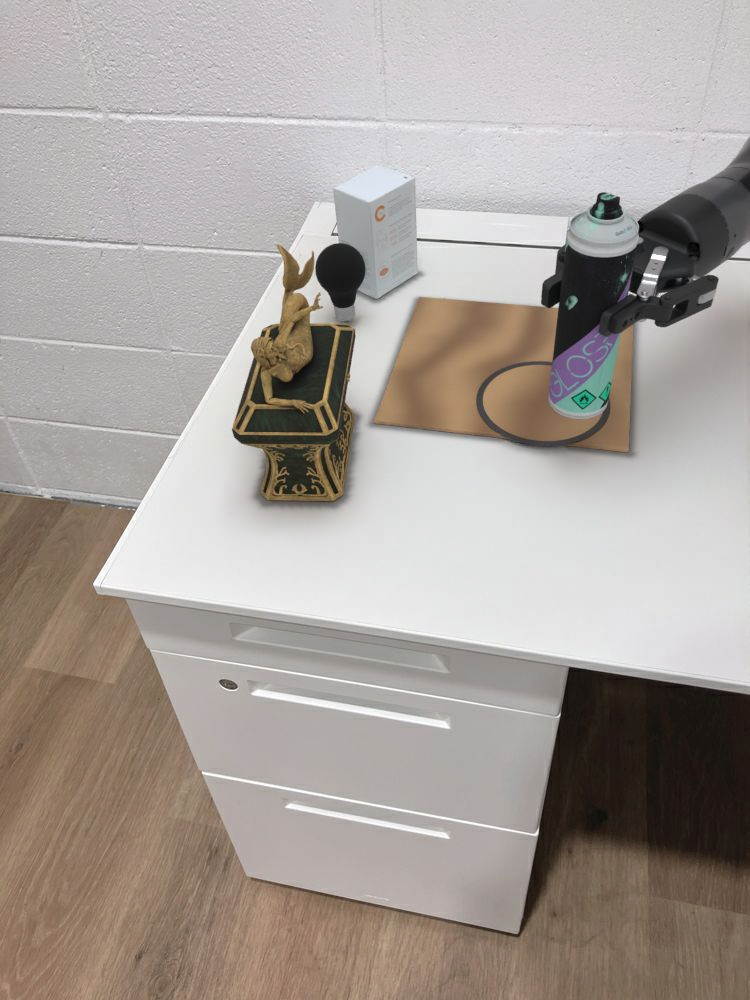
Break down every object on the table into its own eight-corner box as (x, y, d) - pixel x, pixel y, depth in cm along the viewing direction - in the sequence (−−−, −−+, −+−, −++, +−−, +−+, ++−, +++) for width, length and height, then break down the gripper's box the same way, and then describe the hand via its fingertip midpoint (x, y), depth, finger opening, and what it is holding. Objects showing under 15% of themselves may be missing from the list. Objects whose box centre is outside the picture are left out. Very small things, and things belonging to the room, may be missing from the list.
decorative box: (349, 515, 76) (328, 342, 62) (250, 513, 77) (206, 343, 63) (367, 383, 90) (353, 217, 75) (282, 383, 90) (253, 219, 76)
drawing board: (633, 316, 95) (634, 313, 95) (627, 459, 79) (628, 455, 78) (419, 299, 101) (419, 295, 100) (371, 429, 84) (371, 425, 84)
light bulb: (347, 340, 95) (339, 265, 88) (312, 324, 98) (301, 249, 91) (379, 317, 98) (374, 243, 91) (344, 302, 101) (336, 228, 94)
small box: (383, 258, 108) (378, 162, 99) (419, 274, 105) (417, 176, 95) (341, 284, 104) (331, 186, 95) (376, 300, 101) (370, 201, 92)
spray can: (545, 415, 74) (568, 211, 59) (551, 379, 77) (574, 177, 63) (606, 422, 73) (645, 215, 58) (609, 384, 76) (646, 180, 62)
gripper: (633, 170, 74) (510, 240, 67) (778, 221, 66) (656, 306, 59) (621, 244, 80) (505, 316, 73) (753, 299, 72) (638, 385, 65)
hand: (574, 311), depth 66 cm, fingers closed on spray can, 5 cm apart
